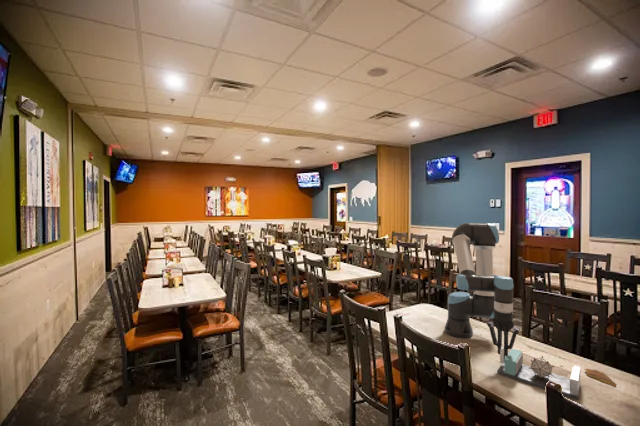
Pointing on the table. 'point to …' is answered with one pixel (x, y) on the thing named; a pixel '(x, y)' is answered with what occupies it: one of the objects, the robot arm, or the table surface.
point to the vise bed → (547, 379)
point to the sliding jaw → (513, 361)
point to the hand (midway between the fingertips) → (502, 361)
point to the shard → (599, 376)
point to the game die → (541, 367)
